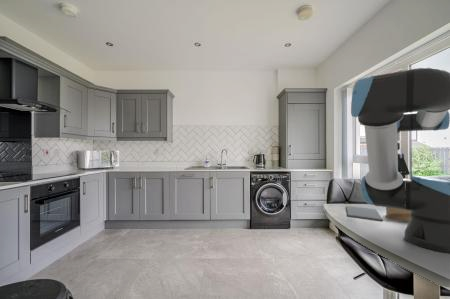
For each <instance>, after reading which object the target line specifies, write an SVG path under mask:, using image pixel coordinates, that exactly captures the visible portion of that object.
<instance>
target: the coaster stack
mask: <svg viewBox="0 0 450 299" xmlns="http://www.w3.org/2000/svg"><path fill="white" fill-rule="evenodd" d="M385 210H386V213H385V214H386V216H387V218H388V219H391V220H392V219H393V220H398V221H399V220H400V221H407V222H409V221H410V219H411V211H410V210H403V209H396V208H389V207H385Z"/></svg>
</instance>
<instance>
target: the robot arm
mask: <svg viewBox="0 0 450 299" xmlns="http://www.w3.org/2000/svg"><path fill="white" fill-rule="evenodd" d="M350 104H351V105H350V115H351V117H354V118H357V120H358V122H359V124H360V125H362V126H363V127H364V134H365V135H364V136H365V144H366V153H367V164H368V172H366V174H365V175H364V176H362V178H361V181H360V182H361V184H360V185H361V186H360V187H361V195H362V198H363V201H364V202H365V203H366V204H368V205H372V206H375V207H383V208H386V207H389V208H396V209H403V210H410V211H411V219H410V221H408V223H407V225H406V227H405V230H404V239H405V240H406V241H407V242H409V243H411V244H413V245H415V246H418V247H421V248H424V249H428V250H432V251H435V252H441V253H446V254H447V253H448V254H450V180H446V179H442V178H441V179H440V178H435V177H430V176H425V175H417V174H416V175H415V174H413V175H411V177H410V178H406V176H408V175H410V174H411V173H410V171H409V168H408V165H407V162H406V159H405V155H404V153H403V152H401V153H399V152H398V151H399V150H400V149H401V143H400V141H401V140H400V139H401V136H400V135H401V132H415V131H416V132H417V131H419V132H420V131H442V130H447V129H449V127H450V111H449V110H450V72H448V71H446V70H443V69H440V68H435V67H416V68H412V69H406V70H401V71H395V72H389V73H384V74H378V75H371V76H369V77H363V78H359V79H358V80H357V81H355V83H354V86H353V89H352V94H351V102H350Z"/></svg>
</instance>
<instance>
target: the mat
mask: <svg viewBox="0 0 450 299" xmlns="http://www.w3.org/2000/svg"><path fill="white" fill-rule="evenodd" d="M345 208H346V213H347V217H349V218H357V219H366V220H370V221H371V220H372V221H380V222H383V220H384V219H383V218H382V216H381V215H380V213H379V212H378V210H377V209H376V208H370V207H369V208H368V207H361V206H359V207H358V206H351V205H346V206H345Z"/></svg>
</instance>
